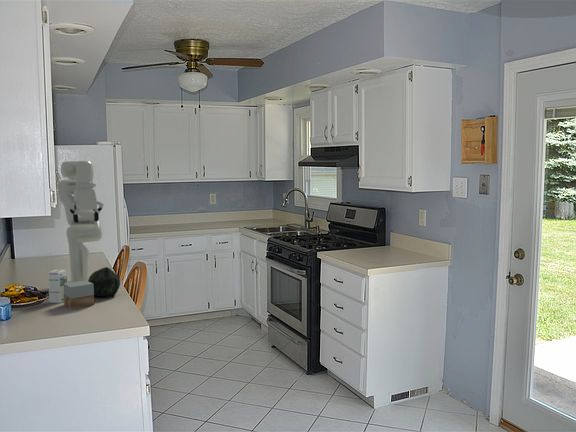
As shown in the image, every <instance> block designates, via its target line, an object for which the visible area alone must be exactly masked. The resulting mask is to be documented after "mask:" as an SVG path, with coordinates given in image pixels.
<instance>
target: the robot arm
mask: <svg viewBox="0 0 576 432" xmlns="http://www.w3.org/2000/svg"><path fill="white" fill-rule="evenodd" d="M60 174H61V176H62V177H63V178H65V179H63V180H60V181H58V183H57V185H56V191H57V190H58V191H57V194H58V197H59V199H60V201H61V204H63V207H64V212H65V217H66V218H65V219H66V221H67V224H68V225H69V226H68V227H67V229H66V230H65V231H66V232H65V233H66V238H67V243H68V253H69V271H70V272H69V273H70V281H67V283H70V282H77V281H85V280H86V281H88V280H89V277H90V276H91V274H90V256H89V254H90V253H89V249H88V248H87V246H86V245H85V244H84V243H92V242H93V243H94V242H99V241H100V240H101V239H102V237H103V232H102V226H101V221H100V215H99V213H100V212H101V211H102V210H103V207H104V203H102V202H100V201H99V200H97V195H96V190H95V187H96V184H95V183H94V182H93V181H94V165H93V164H92V162H91V161H89V160H78V161H77V160H70V161H69V160H66V161H62V162H61V164H60Z"/></svg>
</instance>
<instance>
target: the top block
mask: <svg viewBox="0 0 576 432" xmlns="http://www.w3.org/2000/svg"><path fill="white" fill-rule="evenodd" d="M63 285H64V295H66V296H68V297H69V298H77V297H83V296H90V295H94V284H93V283H91V282H89V281H86V280H85V281H77V282H70V283H68V282H67V283H63Z"/></svg>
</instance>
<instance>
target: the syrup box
mask: <svg viewBox="0 0 576 432" xmlns="http://www.w3.org/2000/svg"><path fill="white" fill-rule="evenodd" d="M47 277H48V278H47V279H48V291H49V302H50V304H51V303H53V304H62V303H64V285H63V283H68V277H67V269H54V270H51V271H48V272H47Z"/></svg>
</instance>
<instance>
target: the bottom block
mask: <svg viewBox="0 0 576 432" xmlns="http://www.w3.org/2000/svg"><path fill="white" fill-rule="evenodd" d="M63 305H64V307H65V306H66V308H69V309H70V310H75V309H80V308H81V307H82V308H87V307H92V305H93V306H95V297H94V295H90V296H83V297H77V298H69V297H68V296H66V295H64V302H63Z"/></svg>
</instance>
